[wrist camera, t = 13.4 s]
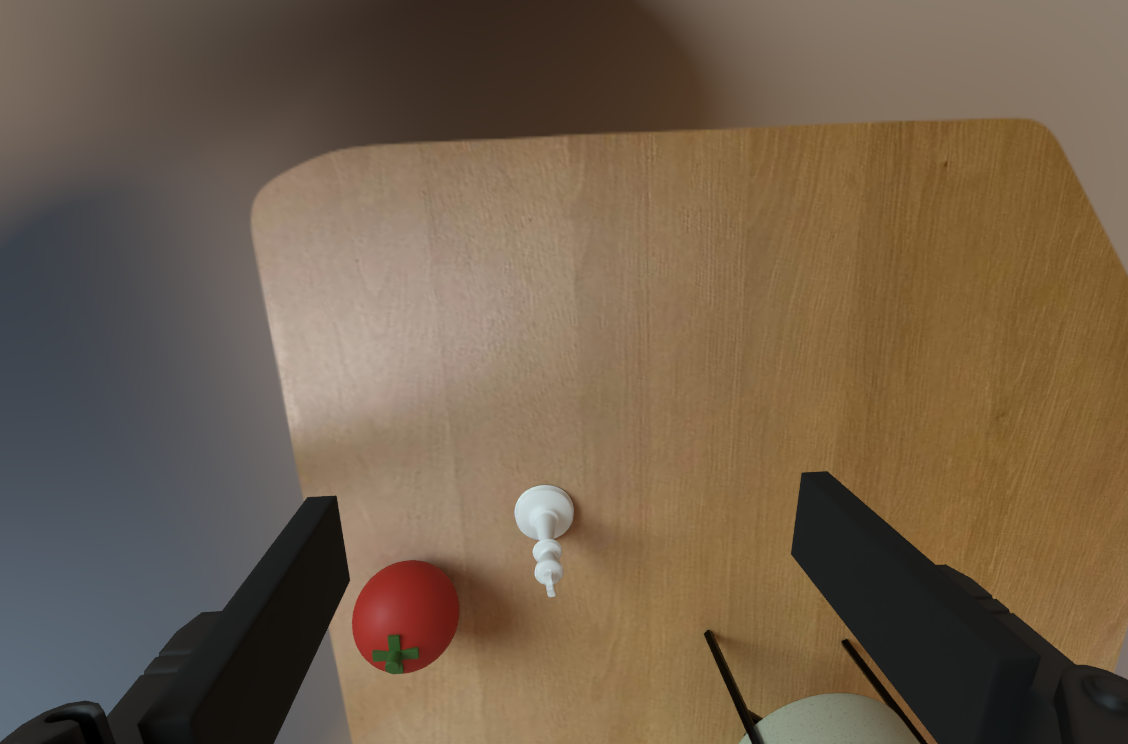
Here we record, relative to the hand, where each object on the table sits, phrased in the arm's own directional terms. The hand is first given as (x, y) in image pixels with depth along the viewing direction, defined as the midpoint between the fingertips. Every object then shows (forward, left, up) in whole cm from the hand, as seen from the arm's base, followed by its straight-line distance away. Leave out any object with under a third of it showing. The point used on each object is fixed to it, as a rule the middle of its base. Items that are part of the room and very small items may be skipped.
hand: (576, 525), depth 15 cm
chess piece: (+15, 0, -26) cm, 30 cm away
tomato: (+21, -11, -26) cm, 35 cm away
